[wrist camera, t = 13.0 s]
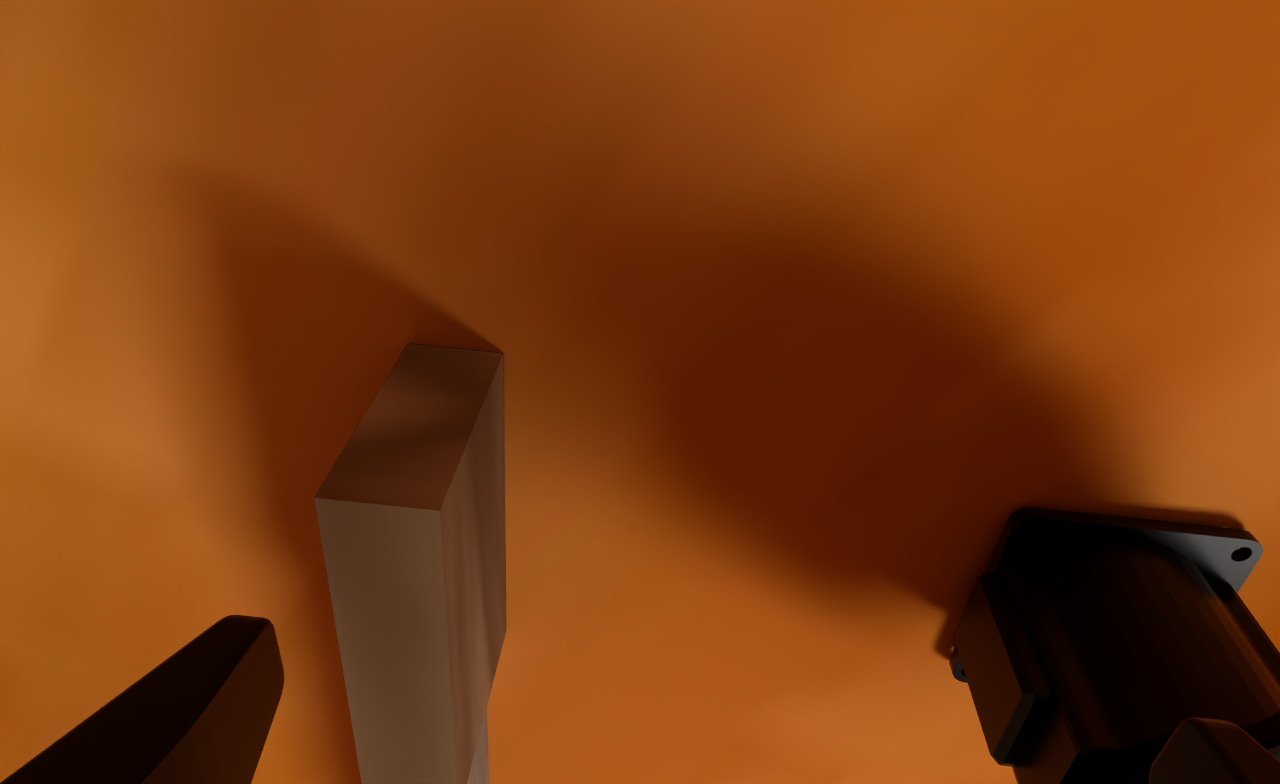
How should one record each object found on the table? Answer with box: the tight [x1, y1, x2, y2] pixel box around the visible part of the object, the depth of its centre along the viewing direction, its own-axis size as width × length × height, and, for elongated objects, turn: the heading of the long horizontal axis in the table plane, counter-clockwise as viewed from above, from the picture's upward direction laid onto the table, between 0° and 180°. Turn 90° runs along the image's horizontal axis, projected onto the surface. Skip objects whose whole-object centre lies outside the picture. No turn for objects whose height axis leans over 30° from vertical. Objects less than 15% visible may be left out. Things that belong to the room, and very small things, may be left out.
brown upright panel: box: [314, 344, 506, 784], centre depth 25 cm, size 2×22×6 cm, turn 176°
